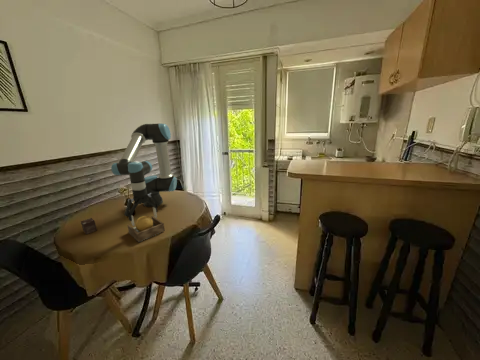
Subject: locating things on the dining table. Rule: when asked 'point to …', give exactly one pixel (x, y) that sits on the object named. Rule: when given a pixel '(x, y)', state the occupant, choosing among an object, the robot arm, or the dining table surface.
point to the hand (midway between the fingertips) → (144, 221)
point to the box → (88, 226)
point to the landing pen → (147, 230)
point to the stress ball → (144, 223)
